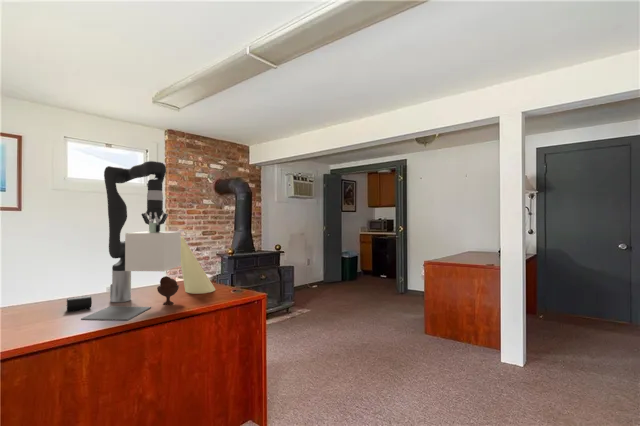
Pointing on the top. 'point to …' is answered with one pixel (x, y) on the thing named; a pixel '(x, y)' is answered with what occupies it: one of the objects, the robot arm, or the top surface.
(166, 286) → the ice cream bowl
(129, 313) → the mat
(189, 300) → the top surface
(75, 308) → the end cap
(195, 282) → the cone light
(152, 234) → the cover
